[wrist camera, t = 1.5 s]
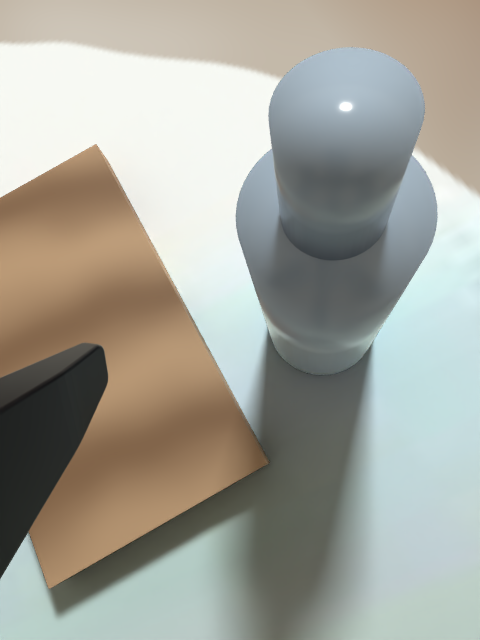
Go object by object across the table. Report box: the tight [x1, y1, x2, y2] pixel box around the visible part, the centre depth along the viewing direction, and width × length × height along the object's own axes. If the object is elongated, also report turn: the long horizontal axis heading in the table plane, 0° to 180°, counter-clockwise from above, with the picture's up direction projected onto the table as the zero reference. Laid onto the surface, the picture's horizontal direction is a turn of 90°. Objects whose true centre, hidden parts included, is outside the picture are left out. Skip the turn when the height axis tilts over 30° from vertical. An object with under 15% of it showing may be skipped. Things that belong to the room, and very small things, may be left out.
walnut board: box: [0, 144, 270, 589], centre depth 22 cm, size 18×10×2 cm, turn 29°
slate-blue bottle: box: [236, 47, 437, 375], centre depth 14 cm, size 5×5×14 cm
